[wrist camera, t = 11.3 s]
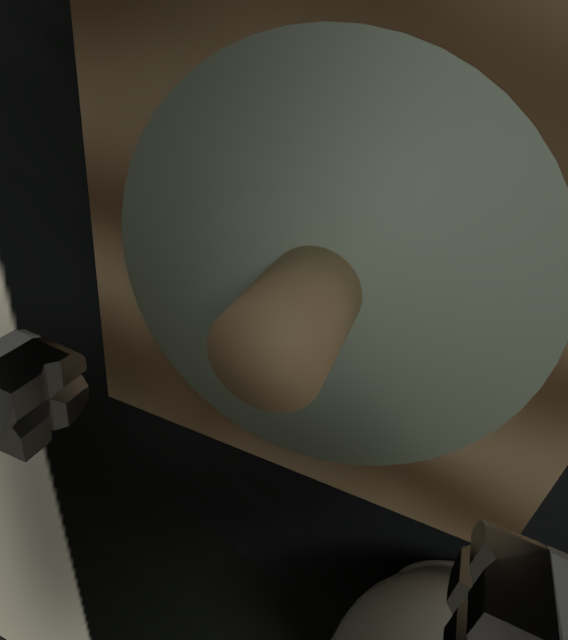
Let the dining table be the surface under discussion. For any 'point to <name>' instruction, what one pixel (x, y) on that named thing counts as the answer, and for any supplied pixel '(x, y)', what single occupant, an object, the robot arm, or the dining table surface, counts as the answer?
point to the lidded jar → (402, 606)
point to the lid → (349, 243)
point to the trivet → (112, 276)
